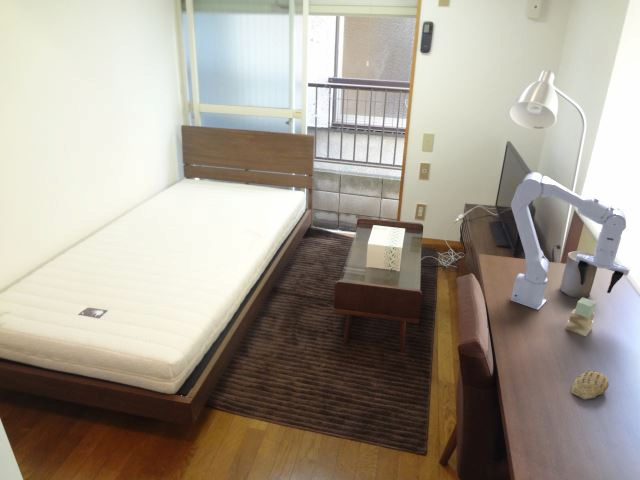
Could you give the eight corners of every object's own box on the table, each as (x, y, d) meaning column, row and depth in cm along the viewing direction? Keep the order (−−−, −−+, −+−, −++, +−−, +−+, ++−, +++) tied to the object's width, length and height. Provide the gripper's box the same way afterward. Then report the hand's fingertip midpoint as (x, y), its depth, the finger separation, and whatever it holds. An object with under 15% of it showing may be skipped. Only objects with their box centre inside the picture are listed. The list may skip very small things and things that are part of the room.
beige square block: (568, 320, 150) (571, 312, 149) (575, 314, 153) (577, 306, 152) (585, 327, 146) (588, 319, 145) (592, 321, 150) (594, 313, 148)
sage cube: (574, 313, 148) (577, 301, 147) (579, 308, 151) (582, 297, 149) (588, 318, 146) (591, 307, 144) (593, 313, 148) (596, 302, 146)
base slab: (565, 329, 150) (567, 321, 149) (570, 321, 155) (572, 313, 153) (586, 337, 147) (588, 329, 146) (591, 329, 151) (593, 320, 150)
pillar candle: (591, 289, 173) (601, 251, 167) (588, 301, 166) (599, 262, 160) (561, 282, 178) (570, 245, 172) (557, 293, 170) (566, 255, 164)
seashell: (601, 414, 121) (609, 380, 126) (605, 403, 117) (613, 369, 122) (567, 401, 125) (576, 369, 130) (570, 391, 121) (579, 358, 126)
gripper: (577, 245, 149) (567, 284, 155) (630, 260, 140) (618, 300, 146) (583, 239, 154) (574, 276, 160) (635, 252, 145) (623, 292, 151)
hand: (595, 287), depth 153 cm, fingers open, 7 cm apart
